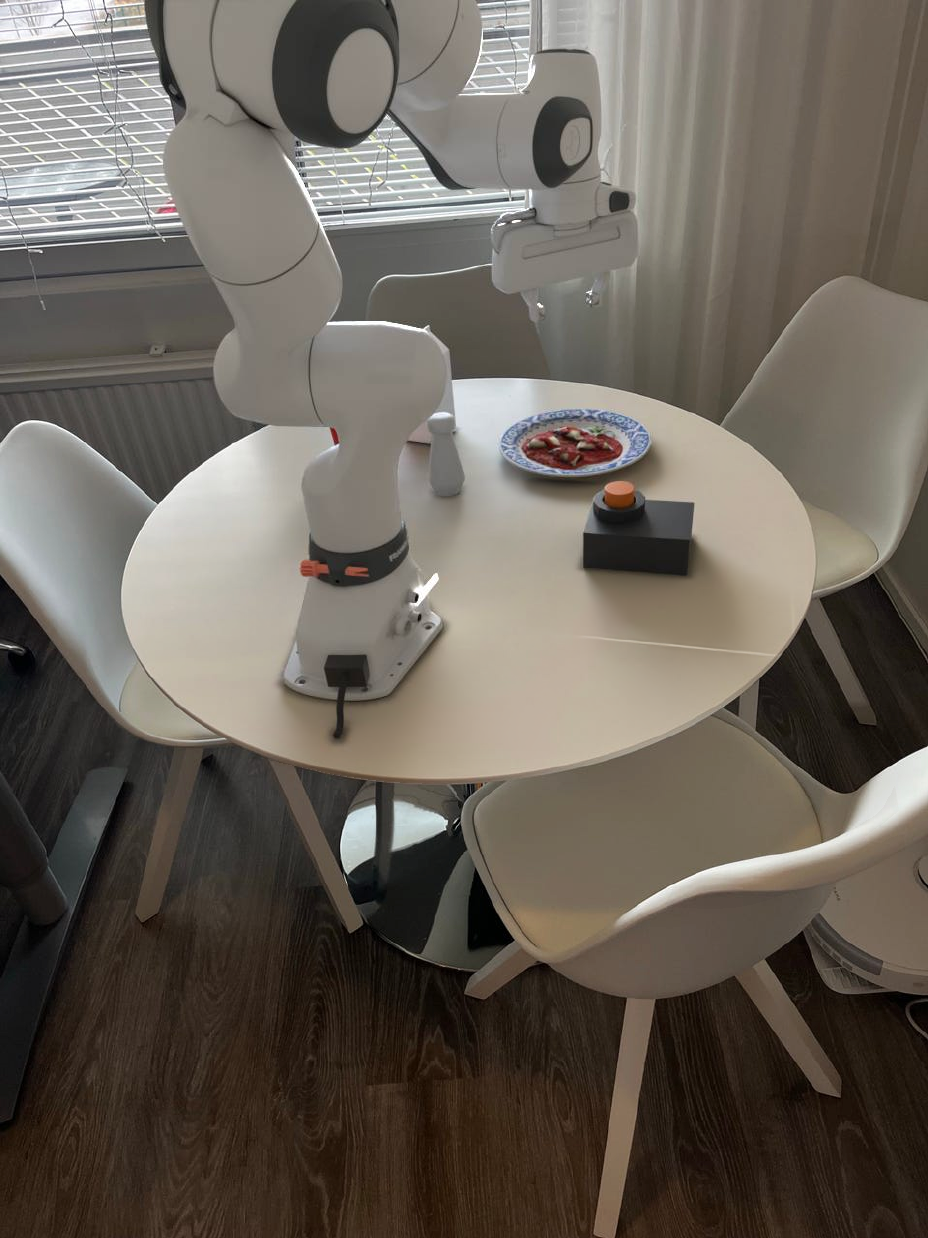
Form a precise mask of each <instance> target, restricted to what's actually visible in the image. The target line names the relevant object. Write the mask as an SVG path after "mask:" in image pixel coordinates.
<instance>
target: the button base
mask: <svg viewBox="0 0 928 1238" xmlns="http://www.w3.org/2000/svg"><path fill="white" fill-rule="evenodd" d="M694 512H695V501H694V502H693V501H677V500H676V501H675V500H658V499H657V500H656V499H646V496H645V495H644V494H643V493H642V492H641V491H640V490H637V489H635V490H634V503H633V504H632V505H631V506H628V507H623V508H617V507H611V506H609V505H606V504H605V488H604V489H602V490H601V491H599V492H597V493H596V494H594V496H593V498H592V502H591V506H590V508H589V512H588V515H587V519H586V522H585V525H584V528H583V532H582V534H583V535H582V568H583V569H593V570H604V571H605V570H606V571H618V572H619V571H620V572H621V571H622V572H631V573H642V574H643V573H645V574H655V575H656V574H658V575H671V576H682V577H683V576H684V577H687V576H688V572H689V571H688V570H689V564H690V563H689V562H690V553H691V546H692V536H693V524H694Z"/></svg>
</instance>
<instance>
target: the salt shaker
mask: <svg viewBox="0 0 928 1238" xmlns="http://www.w3.org/2000/svg"><path fill="white" fill-rule="evenodd" d="M427 426H428V430H429V432H431V433H432V438H431V444H430V456H429V471H428V479H429V483H430V486H431V488H433V490H434V491H435V492H436V494H437V495H438V496H439V497H447V498H449V497H452V496H455V495H457V494H460V491H461V488H462V486H463V484H464V483H465V479H466V475H465V472H464V467H463V465H462V461H461V457H460V455H459V451H458V447H457V443H456V440H455V437H454V432H453V433H452V431H453V430H454V428H455V421H454V417H453V416H452V415H451V414H449V413H445V412H439V413H434V414H433V415H432V416H431V417H430V418H429V419H428V420H427Z"/></svg>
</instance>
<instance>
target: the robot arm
mask: <svg viewBox="0 0 928 1238" xmlns="http://www.w3.org/2000/svg"><path fill="white" fill-rule="evenodd" d="M143 5H144V15H145V16H144V17H145V23H146V27H147V33H148V36H149V39H150V43H151V45H152V48H153V51H154V53H155V55H156V57H157V60H158V76H159V81H160V84H161V86H162V88H163V90H164V91H165V93H166V94H167V96H168V97H169V98H170V99H171V100H172V101H173V102H174V103H175V104H176V105H178V106H179V107H180V108H182V109H183V110H185V114H184V116H183V117H182V118H181V120H180V121H179V122H178V123H177V124H176V125H175V126H174V127H173V129H172V130H171V131H170V133H169V135H168V137H167V139H166V142H165V145H164V148H163V154H162V169H163V174H164V178H165V182H166V184H167V187H168V190H169V193H170V197H171V199H172V201H173V204H174V207H175V210H176V212H177V214H178V217H179V219H180V221H181V224H182V226H183V228H184V231H185V232H186V236H187V237H188V239H189V241H190V243H191V245H192V247H193V249H194V251H195V252H196V254H197V256H198V258H199V260H200V261H201V263H202V265H203V266H204V268H205V270H206V271H207V273H208V275H209V276H210V278H211V281H212V282H213V283H214V285H215V287H216V288H217V291H218V293H219V294H220V296H221V297H222V299H223V302H224V303H225V305H226V307H227V309H228V311H229V313H230V315H231V317H232V320H233V322H234V328H233V329H231V331H229V332H227V334H226V335H225V336H224V337H223V339H222V340H221V341H220V344H219V346H218V348H217V349H216V353H215V355H214V360H213V369H212V371H213V372H212V373H213V374H212V375H213V381H214V386H215V389H216V393H217V395H218V397H219V399H220V401H221V402H222V404H223V406H225V408H226V409H227V410H228V411H229V413H230V414H231V415H232V416H234V417H235V418H239V419H242V420H246V421H250V422H254V423H258V424H259V423H260V424H264V425H269V426H273V427H292V428H293V427H296V428H298V427H301V428H329V429H330V428H334V429H335V430H336V432H337V434H338V439H339V444H337V445H333V446H331V447H329V448H327V449H325V450H324V451H322V452H321V453H319V454H318V455H316V456H315V457H314V458H312V460H311V461H310V462H309V463H308V464H307V465H306V468H305V469H304V472H303V475H302V478H301V483H300V484H301V487H300V488H301V489H300V490H301V493H302V499H303V502H304V503H303V504H304V507H305V511H306V516H307V520H308V525H309V534H308V553H307V554H308V557H309V558H308V559H305V558H304V559H302V560H301V562H300V565H299V566H300V567H299V573H300V576H302V577H308V579H307V584H306V588H305V592H304V596H303V600H302V604H301V609H300V613H299V617H298V621H297V627H296V629H295V630H296V631H295V640H294V644H293V646H292V649H291V652H290V655H289V658H288V660H287V663H286V666H285V669H284V672H283V674H282V675H283V676H282V677H283V678H282V679H283V683H284V684H285V685H286V686H287V687H288V688H289V689H291V690H293V691H294V692H297V693H299V694H302V695H306V696H308V697H309V696H310V697H314V698H319V699H324V700H335V701H336V706H335V707H336V708H335V709H336V727H335V730H334V732H333V735H332V737H333V738H334V739H336V740H339V739H341V737H342V736H341V735H342V733H343V731H344V727H345V713H344V708H345V706H344V705H345V701H347V702H348V701H349V702H354V701H355V702H357V701H371V700H375V699H379V698H383V697H387V696H389V695H390V694H391V693H392V692H394V690H395V689H396V687H397V686H399V684H400V683H401V681H402V680H403V679H404V677H405V676H406V675H407V673H408V672H409V671H410V670H411V668H413V666H414V665H415V664H416V662H417V661H418V660H419V658H420V657H421V656H422V655H423V654H424V653H425V651H426V650H427V649H428V647H429V646H430V645H431V643H432V642H433V641H434V640H435V638H436V637H437V636H438V635H439V633H441V631H442V629H443V628H444V625H443V622H442V618H441V617H440V616H439V615H438V614H436V613H434V611H432V610H431V609H432V608H431V606H430V599H429V594H428V593H429V592H430V591H431V589H432V588H433V587H434V586H435V585H436V583H437V582H438V581H439V576H438V575H439V574H438V573H435V574H433V576H432V577H431V579H429V581H428V582H427V583H426V581H425V577H424V573H423V571H422V569H421V567H419V566H418V564H416V562H415V561H414V559H413V558H412V556H411V554H410V553H409V551H410V543H409V537H410V536H409V531H408V528H407V525H406V521H405V519H404V518H403V516H402V515H401V514H402V513H401V508H400V496H399V482H398V480H399V479H398V469H399V462H400V458H401V454H402V452H403V449H404V447H405V445H406V443H407V442H408V441H407V440H408V438H409V437H410V436H411V434H412V433H413V432H414V431H415V430H416V429H417V428H418V427H419V426H420V425H422V424H423V423H424V422H426V421H427V420H428V419H429V418H430V417H431V416H432V415H433V414H434V413H435V411H436V410H437V408H438V407H439V405H440V403H441V401H442V399H443V396H444V393H445V390H446V383H447V369H446V363H445V359H444V356H443V354H442V351H441V349H440V347H439V346H438V344H437V342H436V341H435V340H434V338H433V337H432V336H431V335H430V334H429V333H428V332H427V331H426V330H422V329H423V328H417V327H414V326H410V325H405V324H400V323H395V322H394V323H393V322H389V321H331V319H332V318H333V317H334V315H335V314H336V312H337V310H338V308H339V306H340V303H341V300H342V297H343V296H342V295H343V274H342V270H341V268H340V264H339V263H338V260H337V258H336V255H335V253H334V251H333V247H332V246H331V244H330V241H329V239H328V236H327V234H326V232H325V229H324V226H323V224H322V222H321V219H320V216H319V215H318V212H317V210H316V207H315V205H314V203H313V201H312V198H311V197H310V194H309V192H308V190H307V187H305V184H304V182H303V179H301V176H300V175H299V173H300V171H299V166H298V162H297V155H296V138H297V140H299V141H301V142H303V143H305V144H307V145H308V144H309V145H312V146H315V147H321V148H327V149H337V150H341V149H342V150H343V149H345V150H346V149H350V148H351V149H352V148H354V147H356V146H358V145H360V144H362V143H363V142H364V141H366V139H368V138H369V137H370V136H371V134H372V133H374V131H375V130H376V129H377V128H378V127H379V126H380V125H381V124H382V122H383V121H384V119H385V118H386V116H388V117H389V118H390V119H391V121H393V122H394V124H395V125H396V126H397V127H398V128H399V129H400V130H401V131H402V132H403V134H405V135H406V136H407V138H408V139H409V140H410V141H411V142H412V143H413V144H414V145H415V147H417V149H418V151H419V152H420V153H421V154H422V156H423V158H424V161H425V163H426V164H427V167H428V168H429V170H430V172H431V173H432V175H433V176H434V178H435V179H436V181H437V182H438V183H439V184H441V186H442V187H444V188H445V189H447V190H450V191H461V190H463V191H464V190H474V189H475V190H476V189H486V190H487V189H489V190H491V189H493V190H513V191H514V190H526V191H527V190H528V194H529V196H528V197H529V198H528V199H529V208H527V209H522V210H519V211H516V212H506V213H503V214H501V215H500V218H498V219H497V220H496V221H495V222H494V223H493V225H492V227H491V229H490V238H491V241H490V242H491V247H492V256H491V284H493V286H494V287H495V288H496V289H497V290H498V291H500V292H501V293H504V294H505V295H512V294H516V293H520V295H521V297H522V299H523V300H524V302H525V303H526V305H527V306H528V313H529V314H528V315H529V319H530V321H532V322H533V323H537V322H540V321H544V320H545V319H546V314H545V313H546V306H544V305H541V304H540V303H538V302H537V301H536V299H535V297H537V296H538V288H542V287H546V286H550V285H555V284H559V283H564V282H568V281H572V280H577V279H582V278H585V277H590V276H592V277H593V278H594V279H595V280H594V283H593V285H592V287H591V290H590V291H587V292H586V293H585V298H586V300H585V303H586V306H587V307H588V308H590V309H594V308H598V307H602V305H603V293H604V292H605V290H606V289H607V286H608V285H609V283H610V280H611V272H612V271H615V270H620V269H624V268H630V267H632V266H633V265H634V263H635V262H636V260H637V258H638V254H639V224H638V219H637V216H636V213H634V212H633V209H634V208H635V206H636V202H637V195H636V193H635V192H634V191H633V190H630V189H629V188H628V189H627V188H625V187H622V186H618V185H613V184H612V183H609V182H606V181H602V170H601V169H602V168H601V165H600V161H599V144H600V140H601V137H602V98H601V85H600V75H599V68H598V63H597V59H596V57H595V55H593V54H592V53H590V52H589V51H587V50H584V49H579V48H571V49H569V48H548V49H543V50H539V51H537V52H536V53H534V54H532V55H531V57H530V63H529V69H528V79H527V84H526V86H524V88H522V89H521V90H520V92H516V93H474V94H473V93H471V94H470V93H467V92H463V91H464V90H465V88H466V87H467V85H468V84H469V82H470V81H471V79H472V78H473V76H474V73H475V71H476V68H477V66H478V63H479V60H480V56H481V52H482V46H483V33H484V32H483V18H482V14H481V11H480V8H479V5H478V3H477V0H143ZM170 85H171V86H172V87H173V88H174V90H175V92H176V93H175V92H174V91H172V90H171V87H170Z"/></svg>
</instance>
